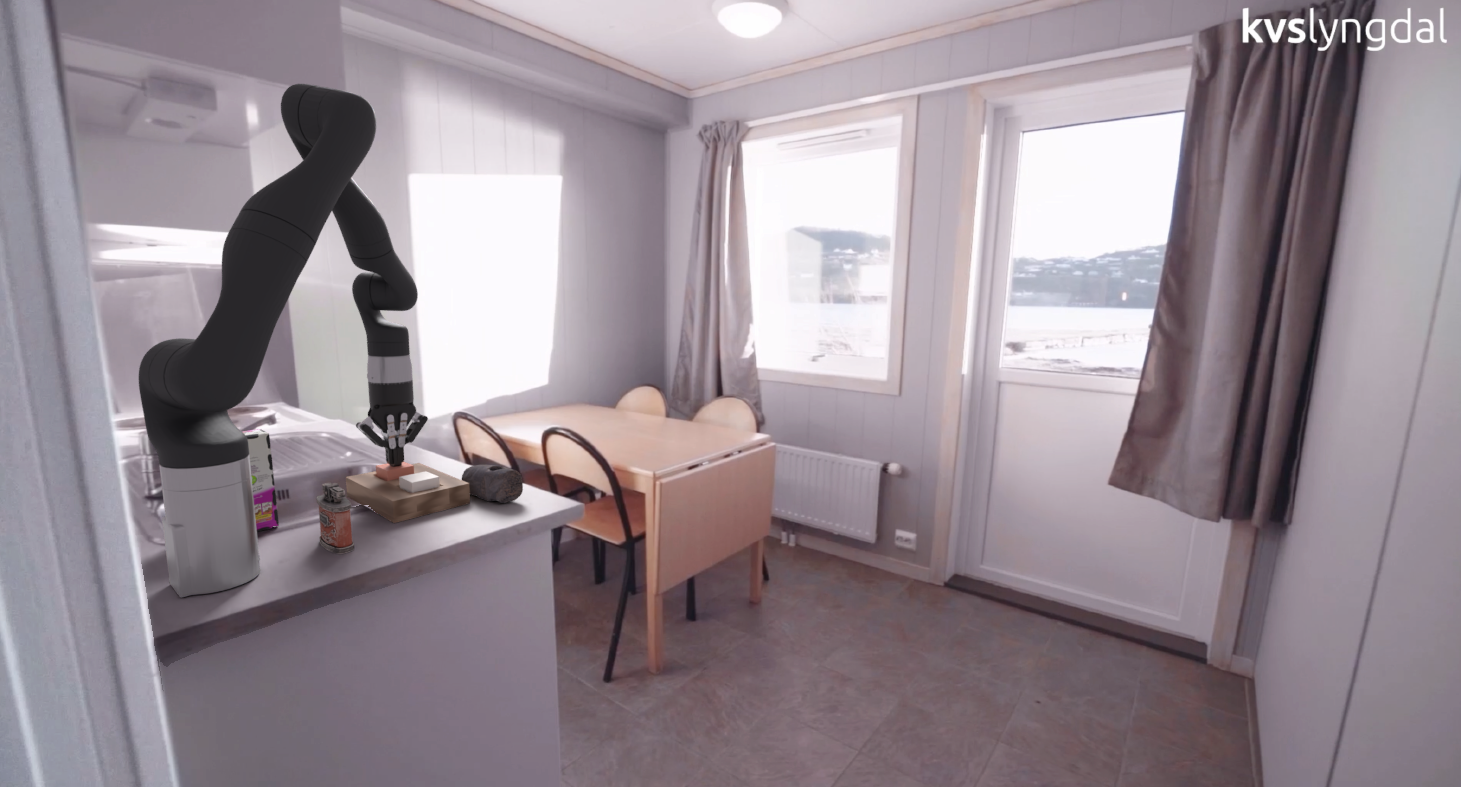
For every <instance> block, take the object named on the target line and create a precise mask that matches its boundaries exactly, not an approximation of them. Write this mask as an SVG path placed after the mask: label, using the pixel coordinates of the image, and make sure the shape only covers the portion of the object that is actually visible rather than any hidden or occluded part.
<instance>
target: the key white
mask: <svg viewBox="0 0 1461 787" xmlns="http://www.w3.org/2000/svg"><path fill="white" fill-rule="evenodd" d="M399 482H400V488H401V489H403V490H405V491H407V492H409V493H414V492H418V491H423V490H427V489H431V488H436V487H440V484H439V476H436V475H434V474H431V473H429V472H427V471H425V472H420V473H415V474H410V475H406V476H401V477H399Z"/></svg>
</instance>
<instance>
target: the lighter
mask: <svg viewBox="0 0 1461 787" xmlns="http://www.w3.org/2000/svg"><path fill="white" fill-rule="evenodd" d="M321 484H322V491H323V492H322V493H323V494H320V495H318V496H316V498H315V499H316V504H317V505H318V514H319V515H318V517H319V529H320V536H319V544H320V545H321V547H323V548H324V550H327V551H328V552H331V553H333V554H336V555H337V554H338V555H342V554H347V553H350V552H353V551H354V550H355V543H354V541H353V534H352V520H351V519H352V518H351V517H352V516H351V509H352V503H351V501H350V500H349V498H348V497H346V490H345V489H344V488H342V487H341V486H339V483H338V482H334V483H331V482H326V483H321Z"/></svg>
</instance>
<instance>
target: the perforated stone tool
mask: <svg viewBox="0 0 1461 787" xmlns="http://www.w3.org/2000/svg"><path fill="white" fill-rule="evenodd" d="M461 480H462V481H465V482H467V483H469V488H470V495H472V496H474V497H475V496H476V497H477V498H478V499H481V500H484V501H487V502H493V501H497V502H499V503H501V504H506V503H509V502H514V501H516V500H517V499H519V498H520V497H521V495H522V494H523V490H524V489H523V487H524V484H523V476H522V474H521V473H520V472H519V471H517V470H516V469H512V468H509V467H505V466H502V465H494V464H476V465H471V466H469V467H466V469H465V470H464V471H463V473H462V474H461Z"/></svg>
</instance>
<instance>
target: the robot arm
mask: <svg viewBox="0 0 1461 787" xmlns="http://www.w3.org/2000/svg"><path fill="white" fill-rule="evenodd" d="M280 102H281V103H280V114H281V119H282V122H283V124H284V127H285V129H286V131H287V134H288V136H289V138H290V139H291V140H290V141H291V142H292V143H293V146H294V147H295V149H296V151H297V152H298V154H299V156H300V158H301V159H302V161H301V162H299V163H298V164H297V165H296V166H295V167H294V168H293V169H291V170H289V171H288V172H287V173H284V174H283V175H282V176H280V177H278V178H277V179H275V180H273V181H272V182H270V183H268V184H267V185H265V186H264V187H262V188H260V190H258V191H257V192H256V193H254V194H253V195H252V196H251V197H250V198H249V199H248V200H246V202H245V203H244V205H243V206H242V208H241V209H240V211H239V213H238V214H237V216H236V218H235V220H234V222H233V223H232V225H231V227H230V229H229V231H228V233H227V235H226V238H225V241H224V243H223V247H222V255H221V289H220V294H219V298H218V301H217V303H216V306H215V307H214V310H213V312H212V313H211V315H210V316H209V317H208V318H209V319H208V320H207V322H206V323H205V325H204V327H203V328H202V330H201V331H200V333H199V334H198V336H197V337H196V339H194V338H171V339H166V340H162V341H160V342H158V343H156V344H155V345H153V346H152V347H151V348H150V349H149V350H147V351H146V353H145V354H144V356H143V357H142V359H141V362H140V365H139V368H138V389H139V395H140V401H141V406H142V411H143V412H142V413H143V418H144V424H145V430H146V434H147V436H148V439H149V443H150V444H151V446H152V447H153V449H154V450H155V452H156V454H157V458H158V465H159V474H160V483H161V489H162V490H161V491H162V498H163V507H164V508H163V509H164V516H162V519H161V523H162V530H163V539H164V546H165V554H166V556H165V557H166V564H167V572H168V579H169V585H170V586H171V587H172V589H173V590H174V591H175V593H176V594H177V596H179V598H184V597H185V598H186V597H188V596H195V595H204V594H213V593H217V592H222V591H226V590H230V589H233V588H237V587H239V586H241V585H243V584H246V583H248V582H250V581H252V580H254V579H255V578H257V577H258V575H260V573H261V562H260V560H261V558H260V553H259V552H260V550H259V549H260V548H259V540H258V532H257V529H256V518H255V508H254V498H253V488H252V477H251V466H250V456H249V445H248V439H247V437H246V435H245V434H244V433H243V432H242V431H241V429H239V427H237V426H236V425H235V423H234V422H233V421H232V420H231V417H230V415H229V413H228V410H231V409H234V408H235V407H236V406H238V405H240V404H241V403H242V402H243V401H244V400H245V399H246V398H247V396H249V394H250V393H251V391H252V390H253V387H254V385H255V384H256V381H257V379H258V377H259V374H260V370H261V368H262V365H263V362H264V359H265V356H266V353H267V350H268V349H269V348H268V347H269V344H270V341H271V338H272V336H273V333H274V330H275V329H276V325H277V323H278V321H279V319H280V317H281V314H282V313H283V310H284V308H285V307H286V304H287V303H288V300H289V298H290V296H291V294H292V291H294V290H293V289H294V287H295V285H296V283H297V281H298V279H299V277H300V275H301V274H302V272H303V270H304V268H305V267H306V265H307V262H309V258H310V257H311V255H312V252H313V250H314V249H315V246H316V244H317V242H318V239H319V238H320V235H321V232H322V230H323V228H324V227H325V224H326V222H327V220H328V219H329V217H330V215H331V213H332V214H333V216H334V219H335V221H336V223H337V224H338V229H339V230H340V233H341V235H342V238H343V242H344V244H345V246H346V249H347V252H348V255H349V257H350V260H351V262H352V264H354V266H355V267H357V268H358V269H360V270H361V271H362V270H363V271H365V272H360V273H359V274H358V275H356V276H355V278H354V279H353V281H352V286H351V291H352V292H351V293H352V298H353V301H354V303H355V306H356V308H357V310H358V312H359V315H360V318H361V321H362V324H363V327H364V331H365V335H366V345H367V363H366V364H367V366H366V368H367V370H366V372H367V374H366V378H367V386H368V388H367V389H368V400H369V401H368V402H369V409H368V411H367V416H366V418H365V419H363V420H362V421H358V422H357V423H356V424H355V427H356V429H358V430H359V431H360V432H361V433H362V434H363V435H364V436H365V437H366V438H368V439H369V441H371V442H372V443H373V444H374V445H376V446H377V447H380V448H384V449H385V450H384V451H385V461H386V464H387V463H388V464H389V465H390V466H392V467H397V466H401V465H402V462H405V450H404V447H405V445H407V444H409V443H413V442H414V440H415V439H417V437H418V435H419V433H420V432H421V430H422V429H423V428H424V426H425V424H426V423H427V422H428V421H429V418H428V416H426V415H424V414H421V413H420V412H418V411H417V408H416V405H415V404H414V400H415V399H414V397H415V396H414V380H413V367H412V366H413V365H412V364H413V363H412V361H411V360H412V359H411V354H410V353H411V351H410V334H409V328H407V326H406V325H403V324H401V323H396V322H392V321H389V320H387V319H386V318H385V316H384V315H383V314H382V312H381V311H388V312H389V311H390V312H391V311H392V312H404V311H409V310H411V309H413V308H414V306H415V305H416V304H417V301H418V295H419V293H418V289H417V288H418V287H417V284H416V282H415V279H413V277H412V275H411V273H410V272H409V271H408V269H407V268H406V266H405V265H404V264H403V262H402V261H401V259H400V257H399V256H398V254H397V253H396V251H395V249H394V246H393V243H392V238H391V236H390V233H389V229H388V227H387V224H386V222H385V219H384V218H383V214H382V213H381V212H380V210H378V207H377V206H376V205H375V204H374V203H373V201H372V200H371V198H369V197H368V196H367V194H366V193H365V192H364V190H363V189H362V188H361V187H360V186H359V185H358V184H357V182H356V180H354V178H353V176H354V175H355V173H356V172H357V170H358V169H359V167H360V166H361V164H362V163H363V161H364V160H365V158H366V157H367V155H368V153H369V151H370V150H371V147H372V145H373V143H374V140H375V138H376V133H377V116H376V112H375V110H374V108H373V106H372V104H371V103H370V101H369V100H367V99H366V98H365V97H363V96H361V95H359V94H357V93H354V92H351V91H348V90H343V89H337V88H332V87H328V86H321V85H315V84H308V83H296V84H292V85H290V86H288V87H287V89H286V90H284V92H283V94H282V97H281V101H280ZM374 424H375V426H376V427H377V428H378V429H379V430H380V433H381V436H382V437H380V435H379V434H378V433H376V431H374V429H375V426H374ZM407 427H408V428H407Z"/></svg>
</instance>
